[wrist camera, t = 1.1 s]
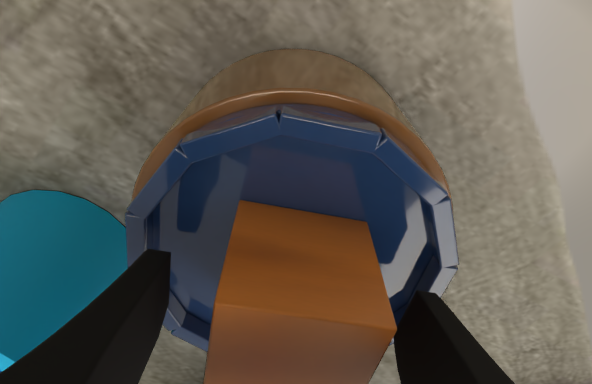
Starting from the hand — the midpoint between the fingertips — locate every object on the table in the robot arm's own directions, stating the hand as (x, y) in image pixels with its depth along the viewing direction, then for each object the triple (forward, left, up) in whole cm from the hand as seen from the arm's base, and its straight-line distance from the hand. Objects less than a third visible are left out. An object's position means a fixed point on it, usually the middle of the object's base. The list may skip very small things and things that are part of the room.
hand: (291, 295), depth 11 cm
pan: (0, 0, -8) cm, 8 cm away
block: (0, 0, -2) cm, 2 cm away
